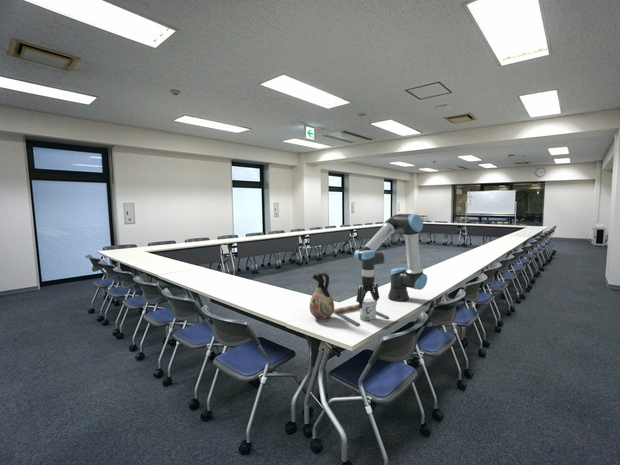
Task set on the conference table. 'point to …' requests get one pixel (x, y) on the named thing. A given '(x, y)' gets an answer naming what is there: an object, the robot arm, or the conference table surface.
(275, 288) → the conference table surface
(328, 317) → the ceramic jug
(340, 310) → the end stop
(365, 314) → the ink box
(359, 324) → the guide rails
